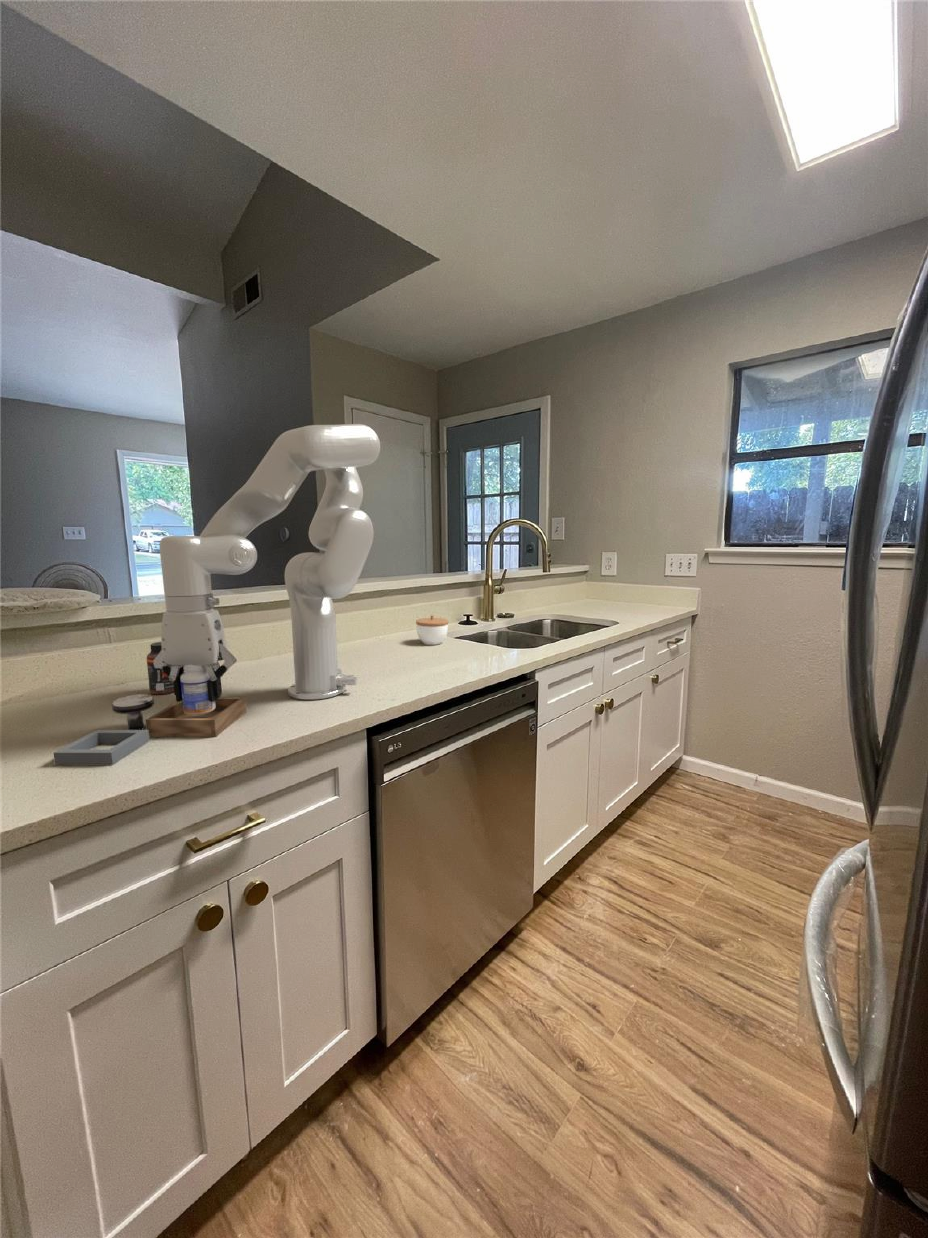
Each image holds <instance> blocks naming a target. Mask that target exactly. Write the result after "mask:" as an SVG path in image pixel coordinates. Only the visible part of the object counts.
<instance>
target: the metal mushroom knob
mask: <svg viewBox="0 0 928 1238" xmlns="http://www.w3.org/2000/svg"><path fill="white" fill-rule="evenodd" d="M154 698H155V697H154V696H153V695H151V694H146V693H144V694H143V693H142V694H131V695H126V696H123V697H119V698H116V699H115V700H113V701H112V703H111V709H112V712H114V713H115V714H121V715H125V714H126V719H127V730H144V728H145V723H144V716H143V715H144V714H143V713H144V712H143V711H146V710H149V709H151V708H152V707H154V705H155V699H154Z"/></svg>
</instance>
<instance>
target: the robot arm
mask: <svg viewBox="0 0 928 1238" xmlns="http://www.w3.org/2000/svg"><path fill="white" fill-rule="evenodd" d="M380 452H381V441H380V438H379V435H378V434H377V433H376V431H374V429H372V428H371V427H370V426H368V425H367V424H363V423H348V424H347V423H346V424H344V423H343V424H312V425H304V426H302V427H301V426H300V427H297V428H293V429H289V430H287V431H285V432H283V433H281V434H280V435H279V436H278V437H277V438H276V439H275V440H274V442H273V444H272V445H271V447H270V448H269V450H268V451H267V452H266V454H265V456H264V457H263V458H262V459H261V461H260V462H259V464H258V465H257V467H256V469H255V470H254V471H253V473H252V475H250V477H249V478H248V479H247V481H246V483H245V484H244V485H243V486H242V487H241V488H239V489H238V490H237V491H236V492H235V493H234V494H233V495H232V497H230V498H229V499H228V501H226V502H225V503H224V504H223V505H221V507H220V508H219V509H218V510H217V511H216V512H215V514H214V515H213V516H212V517H211V519H210V520H209V521H208V523H207V524H206V526H205V527H204V529H203V530H202V532H201V533H200V535H199V536H198V535H197V536H196V535H168V536H165V537H162V538H161V539H160V541H159V545H158V546H159V556H160V565H161V575H162V584H163V592H164V593H163V594H164V601H165V602H164V603H165V612H163V614H162V620H161V630H160V632H161V634H160V640H161V641H160V642H161V645H162V650H161V651H160V653H159V654H158V655H157V657H156V658H155V659H154V661H153V663H154V664H155V665H157V666H158V667H159V668H160V669H162V670H163V672H164V673H166V674H167V675H168V676H169V679H170V680H171V681H173V685H174V692H173V694H174V696H175V701H176V702H180V701H182V690H181V680H180V677H181V675H182V674H183V673H185V670H184V669H183V668H184V666H185V665H196V666H204V667H205V669H206V671H207V673H208V676H209V678H210V680H209V681H208V682H207V687H208V697H209V701H210V702H214V701H215V700H217V699H218V698H220V697H221V695H222V693H223V690H222V687H223V686H222V677H223V676H224V675H225V673H226V672H228V670H229V669H230V668H231V667H232V666H234V665H235V664H236V663H237V662H238V660H237V658H236V657H235V656H234V655H233V654H232V652H230V650H229V649H228V646H227V639H226V635H225V630H224V629H225V628H224V624H223V621H222V618H221V615H220V612H219V610H218V609H214V608H215V606H219V604H220V598H219V597H214V594H213V593H212V581H211V574H215V575H218V574H219V575H232V576H237V575H242V574H245V573H247V572H248V571H250V570H251V569H253V568H254V566H255V565H256V562H257V560H258V551H257V549H256V547H255V544H253V542H251V541H250V540H249V539H247V536H249V534H250V533H251V532H253V530H255V529H256V528H258V527H259V525H261V524H263V523H265V522H266V521H269V520H271V519H272V518H275V517H276V516H278V515H279V514H280V513H282V512H283V511H284V510H286V509H287V507H288V505H289V504H290V503H291V501H292V499H294V498H293V497H294V496H295V494H296V493H297V491H298V490H299V488H300V487H301V485H302V484H303V482H304V481H305V479H306V478H307V476H308V475H309V473H311V472H314V471H318V470H319V471H321V470H323V471H324V474H325V478H326V482H325V488H324V492H323V494H322V497H321V499H320V502H319V504H318V506H317V508H316V511H315V512H314V516H313V517H312V520H311V523H310V525H309V529H308V538H309V541H310V543H311V544H312V546H313V547H315V548H316V549H318V550H321V551H324V552H301V553H299V554H296V555H295V556H293V557H292V558H290V560H289V561H288V563H287V564H286V565H285V569H284V584H285V587H286V591H287V592H286V593H287V595H288V600H289V606H290V607H289V608H290V619H291V637H292V651H293V652H292V653H293V669H294V670H293V671H294V684H291V685H290V686H289V687H288V688H287V693H288V695H289V696H290V697H291V698H293V699H298V700H307V701H308V700H309V701H310V700H313V701H314V700H321V699H322V700H323V699H328V698H332V697H336V696H338V695H340V694H343V693H344V692H345V691H346V686H357V683H358V678H357V676H354V674H346V675H345V674H344V673H342V668H339V665H338V662H339V661H338V643H337V639H338V638H337V616H336V610H335V605H334V601H333V600H339V599H342V598H344V597H347V596H348V595H349V594H350V593H351V592H352V591H353V589H355V587H356V584H357V583H358V581H359V579H360V576H361V573H362V571H363V569H364V566H365V563H366V561H367V558H368V556H369V553H370V551H371V548H372V545H373V543H374V542H373V541H374V533H375V531H374V526H373V522H372V520H371V518H370V516H369V515H368V514H367V513H366V512H365V511H363V510H361V509H360V508H361V506H362V502H363V500H364V499H363V498H364V488H363V483H362V481H361V478H360V476H359V472H358V470H357V468H359V467H365V466H369V465H373V463H374V462H375V461H377V460H378V457H379V455H380ZM219 661H224V662H223V664H220V663H219Z"/></svg>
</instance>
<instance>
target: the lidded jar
mask: <svg viewBox="0 0 928 1238" xmlns="http://www.w3.org/2000/svg"><path fill="white" fill-rule="evenodd" d="M415 624H416V633H417V637H418V638H419V640H420V641H421V642H422V643H423V644H424V645H426V646H437V645H441V644H442V643H443V641H445V640H446V637H447V636H448V630H449V620H448V619H447V618H444V617H443V618H442V617H434V615H432V614H431V615H430V617H424V618H423V617H422V618H418V619H416V622H415Z"/></svg>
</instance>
